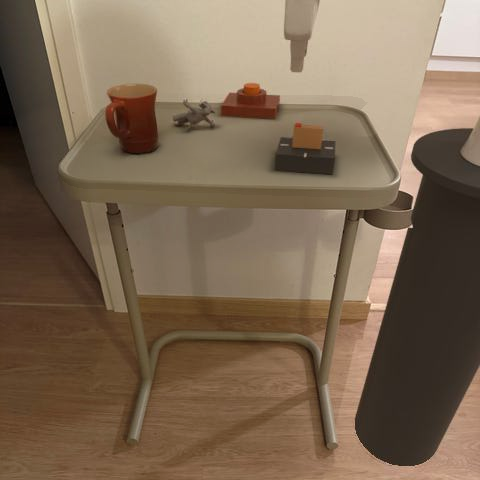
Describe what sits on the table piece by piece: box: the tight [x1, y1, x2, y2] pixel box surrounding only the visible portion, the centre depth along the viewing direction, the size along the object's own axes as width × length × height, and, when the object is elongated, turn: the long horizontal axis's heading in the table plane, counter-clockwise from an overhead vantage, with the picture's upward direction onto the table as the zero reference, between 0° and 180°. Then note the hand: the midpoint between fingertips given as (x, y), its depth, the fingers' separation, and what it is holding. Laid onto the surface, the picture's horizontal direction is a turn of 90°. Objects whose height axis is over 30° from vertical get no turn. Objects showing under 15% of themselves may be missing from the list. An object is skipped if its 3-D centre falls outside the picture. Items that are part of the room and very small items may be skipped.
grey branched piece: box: [172, 97, 217, 132], centre depth 95 cm, size 10×6×9 cm
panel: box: [274, 136, 336, 176], centre depth 83 cm, size 10×9×3 cm
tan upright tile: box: [292, 122, 324, 149], centre depth 80 cm, size 5×2×4 cm, turn 80°
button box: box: [220, 87, 281, 120], centre depth 105 cm, size 12×10×4 cm
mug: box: [104, 83, 159, 155], centre depth 84 cm, size 12×9×10 cm
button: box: [243, 82, 261, 94], centre depth 103 cm, size 4×4×2 cm
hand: (298, 63), depth 70 cm, fingers open, 8 cm apart
